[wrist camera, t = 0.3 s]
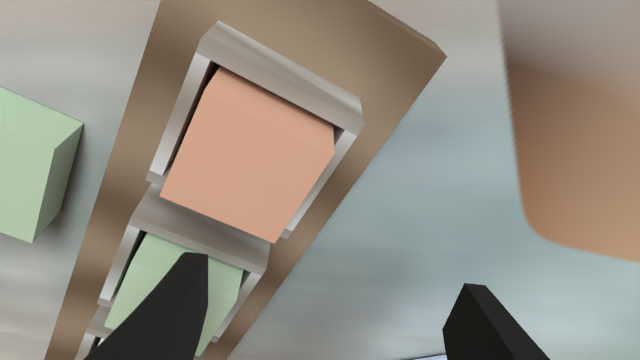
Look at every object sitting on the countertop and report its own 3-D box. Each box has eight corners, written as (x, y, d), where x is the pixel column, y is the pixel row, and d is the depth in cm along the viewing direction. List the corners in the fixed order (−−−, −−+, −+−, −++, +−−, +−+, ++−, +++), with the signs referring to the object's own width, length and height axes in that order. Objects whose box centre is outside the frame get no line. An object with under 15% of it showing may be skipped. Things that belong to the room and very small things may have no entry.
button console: (199, 377, 30) (182, 443, 27) (59, 335, 28) (18, 402, 24) (435, 42, 17) (466, 79, 13) (208, -100, 14) (168, -104, 11)
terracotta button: (281, 196, 18) (274, 243, 15) (183, 153, 17) (159, 196, 14) (332, 115, 16) (334, 153, 13) (225, 58, 15) (204, 89, 12)
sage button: (213, 304, 22) (199, 356, 19) (130, 275, 20) (103, 326, 18) (247, 250, 20) (236, 300, 17) (157, 214, 18) (130, 262, 16)
